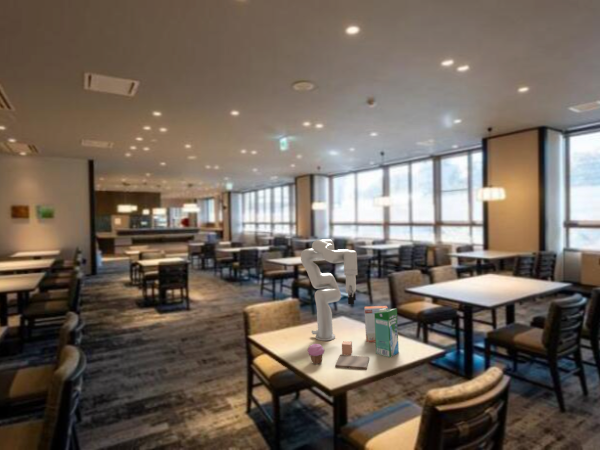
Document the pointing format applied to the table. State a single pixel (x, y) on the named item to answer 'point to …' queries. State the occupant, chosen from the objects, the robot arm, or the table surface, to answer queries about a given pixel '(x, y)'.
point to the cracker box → (371, 321)
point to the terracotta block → (346, 348)
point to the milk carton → (386, 332)
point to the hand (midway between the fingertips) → (352, 302)
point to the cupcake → (316, 353)
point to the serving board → (352, 362)
